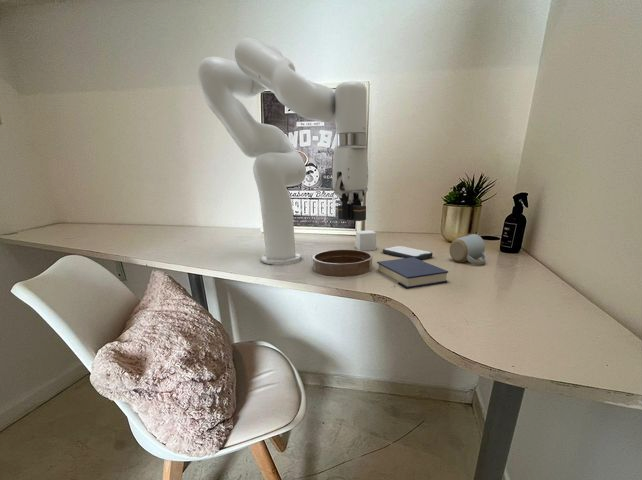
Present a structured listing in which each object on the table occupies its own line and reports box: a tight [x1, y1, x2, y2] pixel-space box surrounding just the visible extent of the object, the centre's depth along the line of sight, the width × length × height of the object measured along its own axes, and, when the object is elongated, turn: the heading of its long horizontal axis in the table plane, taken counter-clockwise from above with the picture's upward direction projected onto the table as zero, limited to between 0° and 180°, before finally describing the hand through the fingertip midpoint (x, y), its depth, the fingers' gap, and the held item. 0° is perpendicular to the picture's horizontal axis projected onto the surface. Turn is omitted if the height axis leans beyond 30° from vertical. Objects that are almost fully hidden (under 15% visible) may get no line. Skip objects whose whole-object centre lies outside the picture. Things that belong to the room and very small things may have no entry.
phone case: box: [382, 245, 433, 260], centre depth 112 cm, size 9×2×16 cm
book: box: [376, 257, 449, 289], centre depth 89 cm, size 16×12×3 cm
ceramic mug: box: [448, 233, 487, 266], centre depth 101 cm, size 11×8×8 cm
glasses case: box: [337, 204, 367, 222], centre depth 90 cm, size 7×3×4 cm, turn 51°
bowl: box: [312, 248, 374, 277], centre depth 97 cm, size 17×17×4 cm
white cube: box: [355, 229, 377, 252], centre depth 121 cm, size 6×6×6 cm
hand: (352, 217), depth 90 cm, fingers closed on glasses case, 3 cm apart
